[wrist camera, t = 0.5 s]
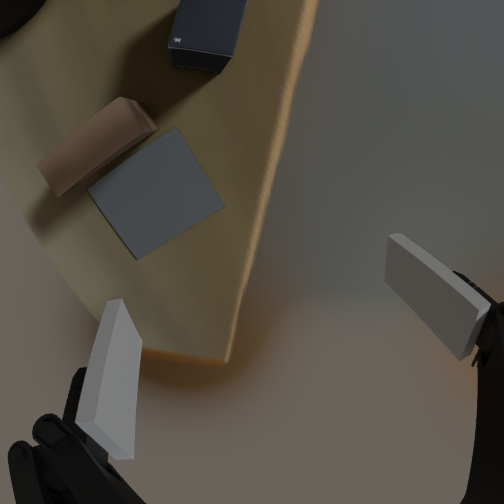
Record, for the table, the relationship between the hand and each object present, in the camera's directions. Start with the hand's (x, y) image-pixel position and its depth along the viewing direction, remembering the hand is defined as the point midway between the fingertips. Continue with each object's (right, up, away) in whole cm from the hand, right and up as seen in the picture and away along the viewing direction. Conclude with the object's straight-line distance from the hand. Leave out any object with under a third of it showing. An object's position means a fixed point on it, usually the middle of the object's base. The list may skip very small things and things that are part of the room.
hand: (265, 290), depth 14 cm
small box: (-6, +28, +15) cm, 33 cm away
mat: (-13, +9, +23) cm, 28 cm away
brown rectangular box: (-17, +16, +19) cm, 30 cm away
